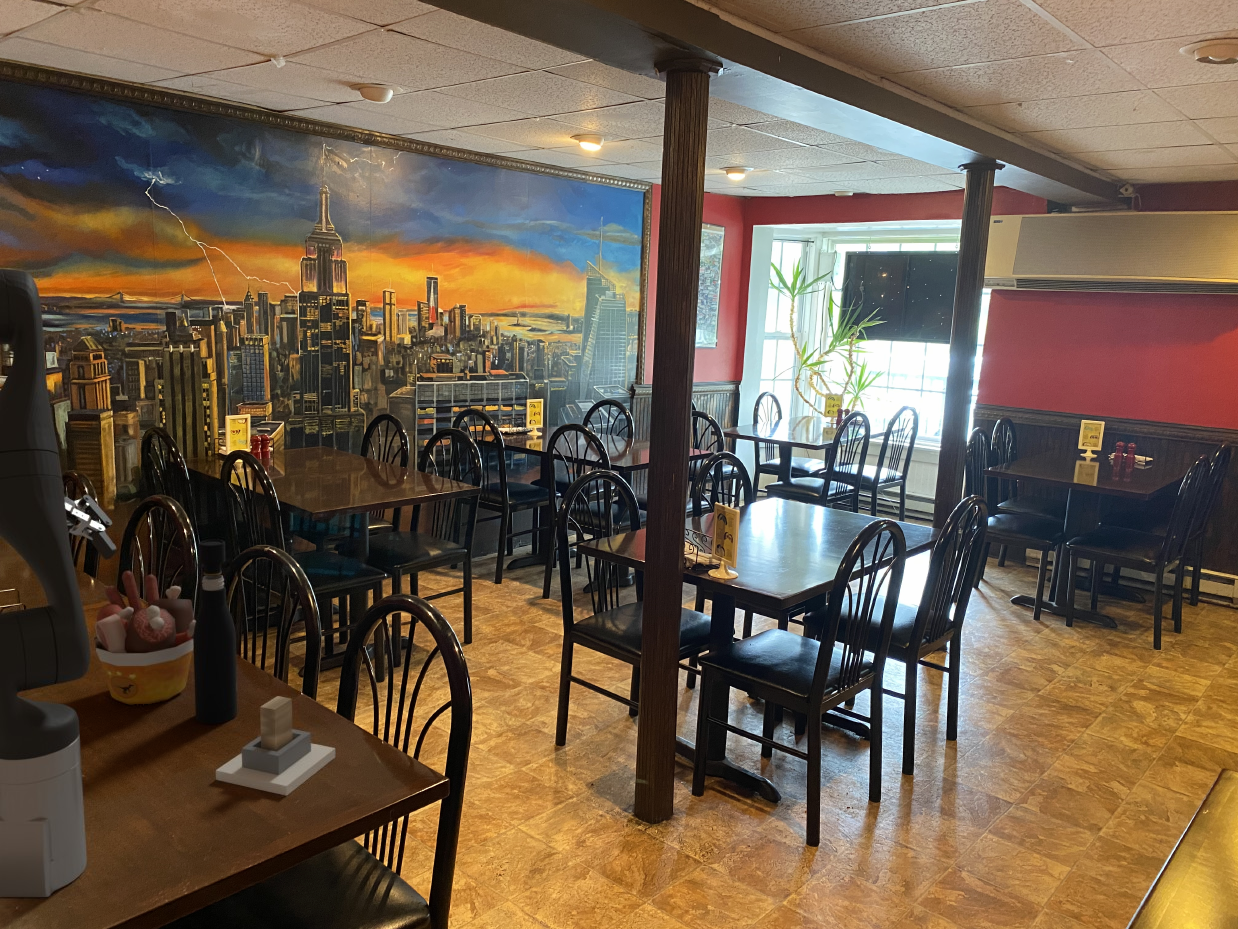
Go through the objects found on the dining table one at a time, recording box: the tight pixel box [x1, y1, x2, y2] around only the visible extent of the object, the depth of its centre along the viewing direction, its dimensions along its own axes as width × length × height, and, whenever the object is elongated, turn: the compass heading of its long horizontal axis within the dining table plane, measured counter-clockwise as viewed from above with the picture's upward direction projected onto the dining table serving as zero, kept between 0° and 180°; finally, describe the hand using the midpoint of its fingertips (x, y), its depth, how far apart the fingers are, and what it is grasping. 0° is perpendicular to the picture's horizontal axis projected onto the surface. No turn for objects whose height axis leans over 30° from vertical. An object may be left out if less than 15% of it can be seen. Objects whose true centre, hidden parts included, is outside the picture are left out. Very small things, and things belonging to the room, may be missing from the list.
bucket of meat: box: [93, 570, 196, 706], centre depth 159 cm, size 20×16×20 cm
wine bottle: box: [193, 539, 238, 725], centre depth 150 cm, size 6×6×30 cm
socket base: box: [215, 728, 336, 797], centre depth 137 cm, size 12×12×4 cm
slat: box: [259, 695, 293, 752], centre depth 136 cm, size 2×4×9 cm, turn 164°
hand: (88, 563), depth 132 cm, fingers open, 8 cm apart
